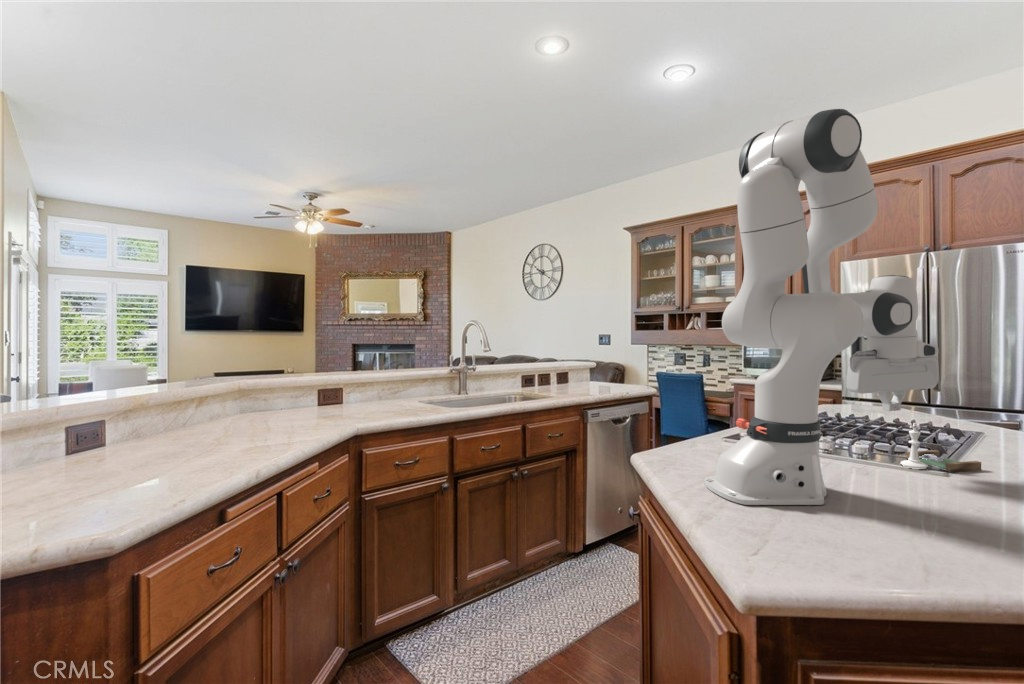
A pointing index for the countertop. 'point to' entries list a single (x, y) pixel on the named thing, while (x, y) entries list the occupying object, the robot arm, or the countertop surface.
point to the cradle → (949, 463)
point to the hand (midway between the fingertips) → (891, 410)
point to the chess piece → (914, 450)
